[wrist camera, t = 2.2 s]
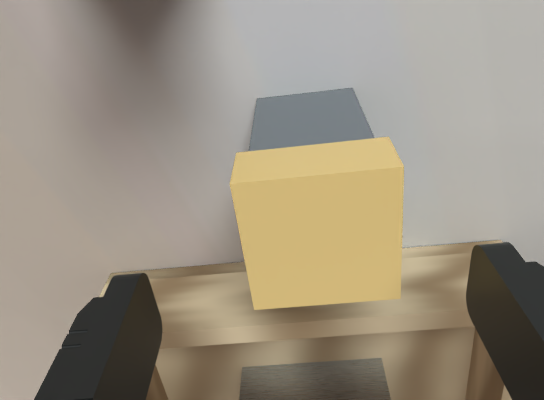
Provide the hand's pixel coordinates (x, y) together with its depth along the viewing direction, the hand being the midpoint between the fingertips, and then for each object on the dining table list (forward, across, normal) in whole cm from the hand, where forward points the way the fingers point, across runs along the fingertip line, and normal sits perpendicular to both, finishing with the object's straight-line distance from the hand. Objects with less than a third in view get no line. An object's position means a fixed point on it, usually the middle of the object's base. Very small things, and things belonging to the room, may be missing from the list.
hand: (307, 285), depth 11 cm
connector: (+10, -1, 0) cm, 10 cm away
